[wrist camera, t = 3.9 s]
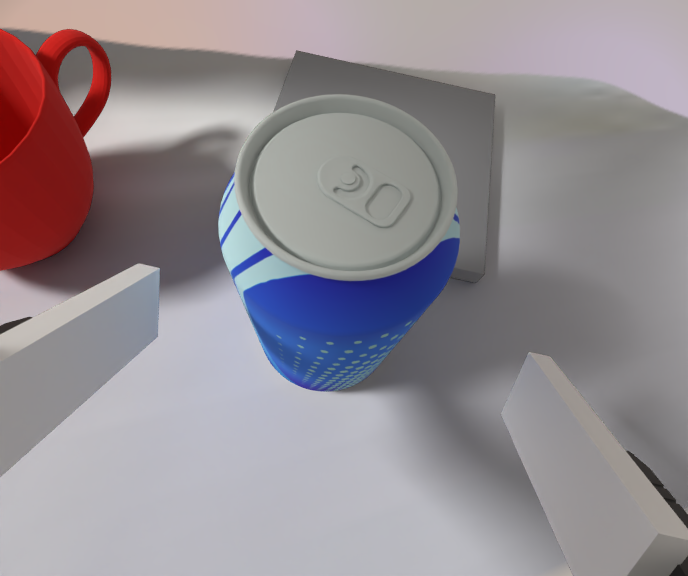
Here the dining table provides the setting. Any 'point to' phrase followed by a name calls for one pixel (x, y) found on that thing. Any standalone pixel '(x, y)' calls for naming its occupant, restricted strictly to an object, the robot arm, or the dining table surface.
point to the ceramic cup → (44, 147)
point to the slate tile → (434, 113)
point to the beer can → (338, 234)
